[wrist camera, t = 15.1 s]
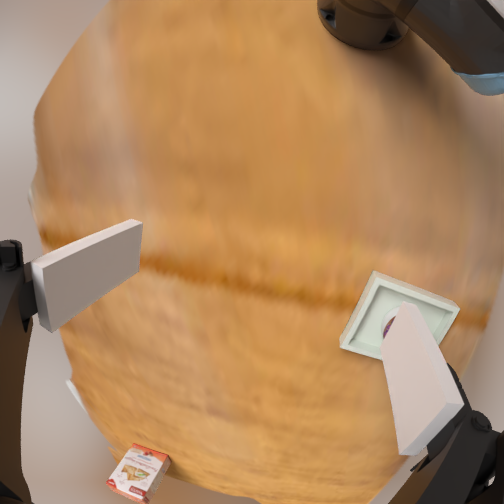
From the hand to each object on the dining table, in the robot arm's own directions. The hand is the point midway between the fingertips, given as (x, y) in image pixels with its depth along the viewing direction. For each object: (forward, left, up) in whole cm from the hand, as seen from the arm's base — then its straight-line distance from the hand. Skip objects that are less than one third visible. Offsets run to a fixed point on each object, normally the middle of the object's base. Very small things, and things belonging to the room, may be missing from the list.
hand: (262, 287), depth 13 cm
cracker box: (+92, -17, -33) cm, 99 cm away
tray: (+14, +24, -33) cm, 43 cm away
